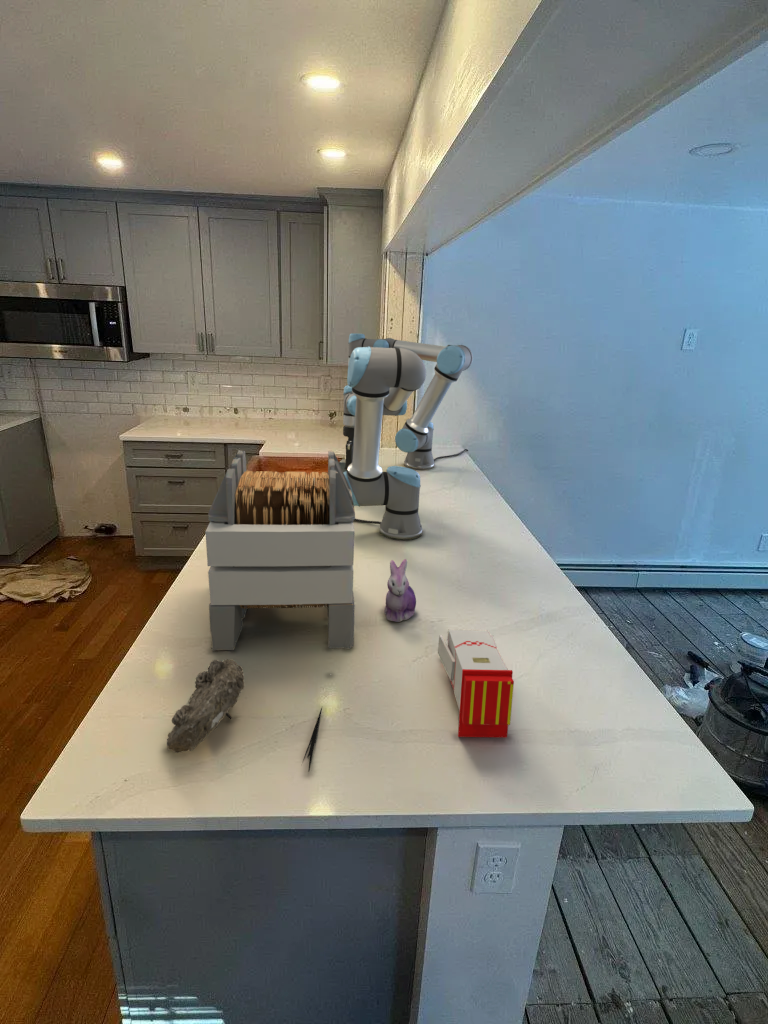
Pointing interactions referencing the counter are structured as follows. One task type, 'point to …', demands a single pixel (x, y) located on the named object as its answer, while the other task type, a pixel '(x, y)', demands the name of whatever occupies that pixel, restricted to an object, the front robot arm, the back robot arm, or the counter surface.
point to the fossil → (206, 705)
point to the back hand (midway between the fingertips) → (354, 411)
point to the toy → (478, 682)
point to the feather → (313, 740)
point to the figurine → (399, 594)
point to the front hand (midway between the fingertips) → (351, 482)
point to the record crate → (281, 548)
